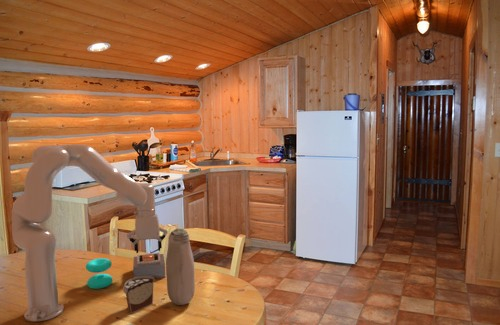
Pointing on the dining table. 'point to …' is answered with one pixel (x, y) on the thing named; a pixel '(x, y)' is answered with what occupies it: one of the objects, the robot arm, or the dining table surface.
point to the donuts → (99, 279)
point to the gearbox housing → (149, 266)
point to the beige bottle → (180, 268)
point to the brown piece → (139, 292)
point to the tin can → (148, 257)
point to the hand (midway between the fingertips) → (148, 251)
